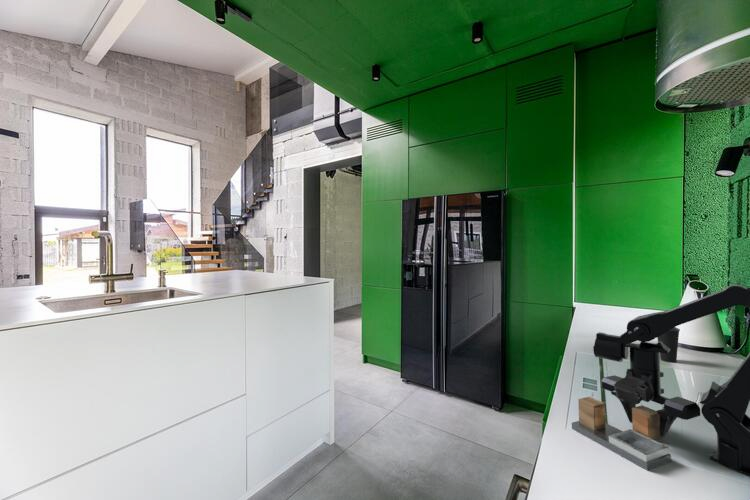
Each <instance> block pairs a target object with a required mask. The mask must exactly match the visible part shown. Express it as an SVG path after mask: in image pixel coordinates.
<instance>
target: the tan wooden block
mask: <svg viewBox="0 0 750 500" xmlns="http://www.w3.org/2000/svg"><path fill="white" fill-rule="evenodd" d="M631 424H632V430H633V431H635V432H637V433H640V434H642V435H644V436H646V437H648V438H650V439H652V440H654V441H655V440H656V439H659V438H662V437H661V436H660V416H659V414H658V413H657V410H655V409H653V408H651V407H650V408H649V407H648V406H645V405H641V404H640V405H638V406H636V407H634V408H632V423H631Z"/></svg>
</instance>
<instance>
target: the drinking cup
mask: <svg viewBox="0 0 750 500" xmlns="http://www.w3.org/2000/svg"><path fill="white" fill-rule="evenodd" d="M680 332H681V329H680V328H678V327H677V326H676V327H674V328H672V329H670V330H669V331H667V332H665V333H664V334H662V335H660V336H658V337H657V338H656V339H657V343H658V342H659V341H662V342H663V344H664V345H665V346H667V347H668V348H670V351H669V352H668V354H664V353H659V354H660V361H663V362H667V363H677V360H678V359H677V358H678V346H679V339H680V338H679V335H680Z"/></svg>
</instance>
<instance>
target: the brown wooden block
mask: <svg viewBox="0 0 750 500" xmlns="http://www.w3.org/2000/svg"><path fill="white" fill-rule="evenodd" d="M605 405H606V403H605V402H603V401H600V400H598V399H596V398H594V397H591V396H586V397H581V398H578V421H579V422H580V423H582V424H584V425H585V426H587V427H589V428H591V429H593V430H597V429H600V428H604V427H605V423H606V406H605Z"/></svg>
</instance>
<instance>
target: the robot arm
mask: <svg viewBox="0 0 750 500" xmlns="http://www.w3.org/2000/svg"><path fill="white" fill-rule="evenodd" d="M735 306H744V307H746V308H750V287H747V286H744V285H742V284H741V285H740V284H731V285H728V286H726V287H725V288H723V289H721V290H718V291H715V292H713V293H710V294H708V295H705V296H702V297H700V298H697V299H694V300H691V301H689V302H687V303H683V304H682V305H679V306H676V307H673V308H671V309H668V310H663V311H657V312H652V313H648V314H644V315H642V314H641V315H638V316H636V317H634V318H633V319H631V320H629V321H628V322H627V325H626V331H625V332H624V333H622V334H621V335H615V334H614V335H613V334H610V333H609V334H608V333H605V332H597V333H596V334H595V340H594V345H593V346H592V347H593V349H592V350H593V355H594V357H595V358H598V359H603V360H608V361H613V362H618V363H622V362H623V361H624V360H628V359H629V366H630V367H629V368H626V371H625V376H624V377H620V376H618V375H614V374H613V375H609V376H604V377H602V378H601V381H600V387H601V388H602V389H603V390H606V391H608V392H610V395H612V396H614V397H615V398H617V400H619V402H620V403H621V405H622V407H623V410H624V412H625V414H626V417H627V419H628V421H629V422H630V423H631V424H632V408H634V407H637V405H639V404H641V402H642V401H643V402H646V403H649V402H650V401H651V402H654V403H657V404H659V405H660V406H662V409H657V410H656V411H657V413H658V414H659V416H660V436H661V437H660V438H664V437H666V435H667V433H668V432H669V430H670V429H671V427H672V425H673V424H674V422H675V421H676V420H677V418H678V419H681V420H686V421H688V420H691V419H695V418H697V417H700V416H701V414H702V415H703V418H704V419H705V420H706V421H707V422H708V423H709V424H710V425H712V426H713V428H714V431H715V432H716V444H717V445H716V447H717V448H716V449H717V452H714V453H711V454H710V455H708V458H709V459H710V460H713V461H715V462H717V463H720V464H722V465H724V466H726V467H728V468H731V469H733V470H735V471H737V472H738V473H741V472H742V473H741V474H744V473H745V474H744V475H746V474H748V475H750V417H749V416H748V415H747V414H746V412H747V410H748V407H749V405H750V404H749V403H750V352H749V353H748V354H747V356H745V358H744V360H743V361H742V362H741V364H740V365H738V367H737V369H736V370H735V371H734V373H733V374H732V375H731V377H730V378H729V379H728V380H727V381H725V382H724V383H723V384H721V385H719V384H718V383H716V381H712V382H711V385H710V387H709V389H708V390H707V391H706V392H703V393H702V395H701V397H700V400H699V403H700V405H701V404H702V406H701V407H700V406H699V404H698V403H697V402H695V401H692V400H689V399H686V398H683V397H681V396H675V397H671V398H668V397H666V396H664V395H663V394H665V389H664V388H662V387H661V378H663V377H665V375H664V372H663V371H661V358H660V353H664V354H668V352H669V351H670V348H668V347H667V346H665V345H664V344H663V342H662V341H659V342H658V341H657V343H652V342H651V341H653V340H655V339H657V337H658V336H660V335H662V334H664V333H665V332H667V331H669V330H670V329H672V328H674V327H676V328H677V327H678V326H680V325H683V324H686V323H689V322H693V321H695V320H697V319H701V318H704V317H707V316H709V315H712V314H715V313H717V312H721V311H723V310H727V309H730V308H733V307H735ZM637 341H639V342H640V343H635V342H637ZM748 475H747V476H748Z"/></svg>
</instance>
